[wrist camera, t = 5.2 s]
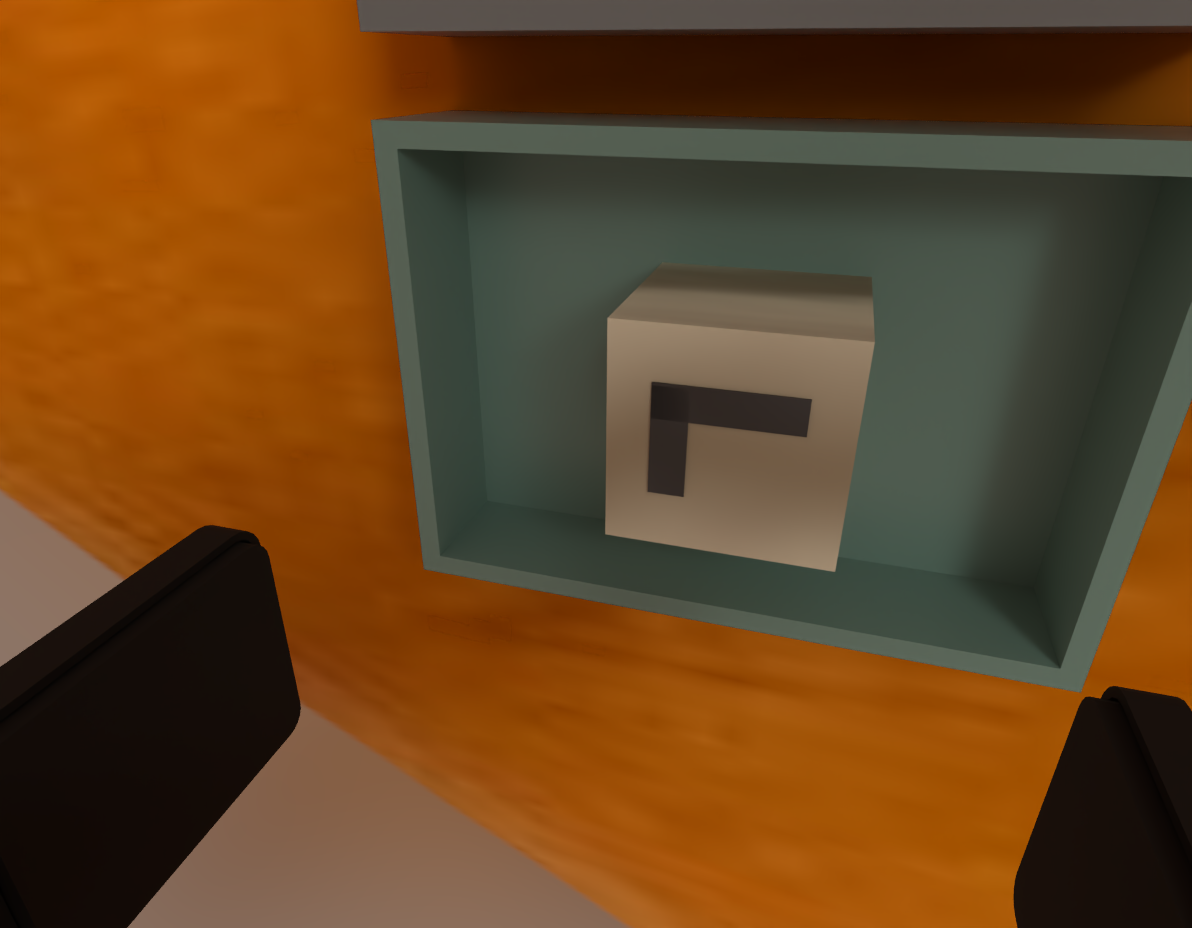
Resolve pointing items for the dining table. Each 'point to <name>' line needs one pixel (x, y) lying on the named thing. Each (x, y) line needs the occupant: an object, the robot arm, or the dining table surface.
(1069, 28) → the charcoal bin
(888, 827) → the dining table surface
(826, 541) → the letter cube
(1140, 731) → the robot arm
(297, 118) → the dining table surface
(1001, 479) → the green-grey bin
